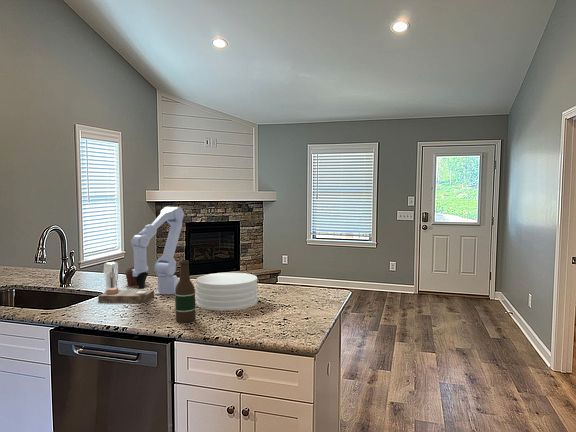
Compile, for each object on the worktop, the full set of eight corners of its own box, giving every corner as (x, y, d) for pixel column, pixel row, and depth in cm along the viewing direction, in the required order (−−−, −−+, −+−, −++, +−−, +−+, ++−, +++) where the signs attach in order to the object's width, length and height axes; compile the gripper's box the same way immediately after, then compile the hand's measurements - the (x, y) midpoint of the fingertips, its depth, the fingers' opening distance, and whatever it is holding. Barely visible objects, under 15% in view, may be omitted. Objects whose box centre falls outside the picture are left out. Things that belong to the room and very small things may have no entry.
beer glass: (113, 294, 220) (112, 264, 219) (101, 293, 221) (100, 264, 220) (121, 291, 226) (120, 262, 226) (109, 290, 228) (108, 261, 227)
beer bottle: (177, 317, 178) (176, 259, 176) (196, 317, 178) (195, 258, 177) (173, 323, 170) (172, 262, 169) (194, 323, 171) (193, 262, 169)
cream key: (146, 297, 211) (146, 291, 210) (143, 299, 207) (143, 293, 206) (138, 297, 211) (138, 291, 211) (135, 299, 207) (135, 293, 207)
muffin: (121, 284, 243) (121, 266, 243) (141, 281, 251) (140, 264, 250) (130, 287, 234) (130, 269, 234) (150, 284, 242) (149, 266, 241)
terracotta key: (118, 293, 211) (118, 287, 211) (114, 295, 207) (114, 289, 207) (110, 293, 211) (110, 287, 211) (106, 295, 207) (106, 289, 207)
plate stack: (219, 293, 221) (219, 270, 221) (268, 299, 209) (268, 275, 208) (183, 306, 196) (183, 281, 195) (236, 313, 184) (235, 286, 183)
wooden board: (154, 296, 214) (153, 290, 214) (144, 302, 203) (144, 296, 202) (110, 296, 216) (110, 290, 215) (98, 302, 204) (98, 295, 204)
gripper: (138, 257, 215) (139, 285, 216) (125, 262, 201) (126, 292, 202) (152, 257, 215) (153, 285, 216) (140, 262, 200) (141, 292, 201)
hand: (141, 288), depth 209 cm, fingers closed
